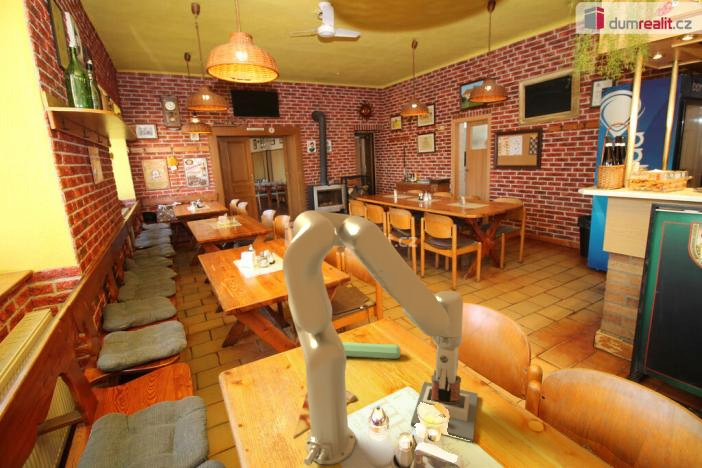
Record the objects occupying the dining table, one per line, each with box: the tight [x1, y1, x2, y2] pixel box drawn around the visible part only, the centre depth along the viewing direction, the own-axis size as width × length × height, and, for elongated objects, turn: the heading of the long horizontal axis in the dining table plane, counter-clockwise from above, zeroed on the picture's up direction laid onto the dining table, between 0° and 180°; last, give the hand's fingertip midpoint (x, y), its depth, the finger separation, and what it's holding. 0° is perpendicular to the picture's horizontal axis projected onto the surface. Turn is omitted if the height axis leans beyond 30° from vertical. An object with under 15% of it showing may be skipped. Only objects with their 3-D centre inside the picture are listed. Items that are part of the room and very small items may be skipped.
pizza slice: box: [293, 389, 357, 439], centre depth 104 cm, size 16×22×2 cm
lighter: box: [430, 368, 462, 405], centre depth 96 cm, size 8×3×10 cm, turn 84°
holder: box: [410, 381, 478, 442], centre depth 98 cm, size 18×16×4 cm
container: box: [342, 341, 402, 360], centre depth 126 cm, size 6×6×25 cm
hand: (445, 394), depth 97 cm, fingers closed on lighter, 4 cm apart
